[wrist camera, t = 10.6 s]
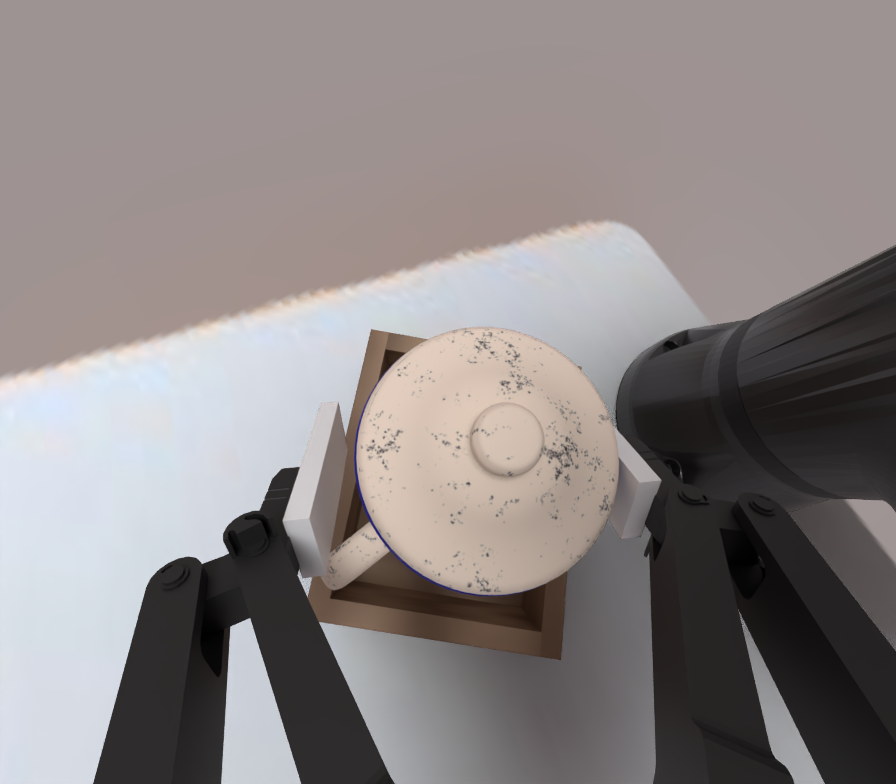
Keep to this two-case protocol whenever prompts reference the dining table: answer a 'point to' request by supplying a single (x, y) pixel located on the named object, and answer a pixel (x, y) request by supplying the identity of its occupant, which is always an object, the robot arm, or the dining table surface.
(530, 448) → the teacup with lid
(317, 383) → the dining table surface
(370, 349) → the walnut crate
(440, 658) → the dining table surface
